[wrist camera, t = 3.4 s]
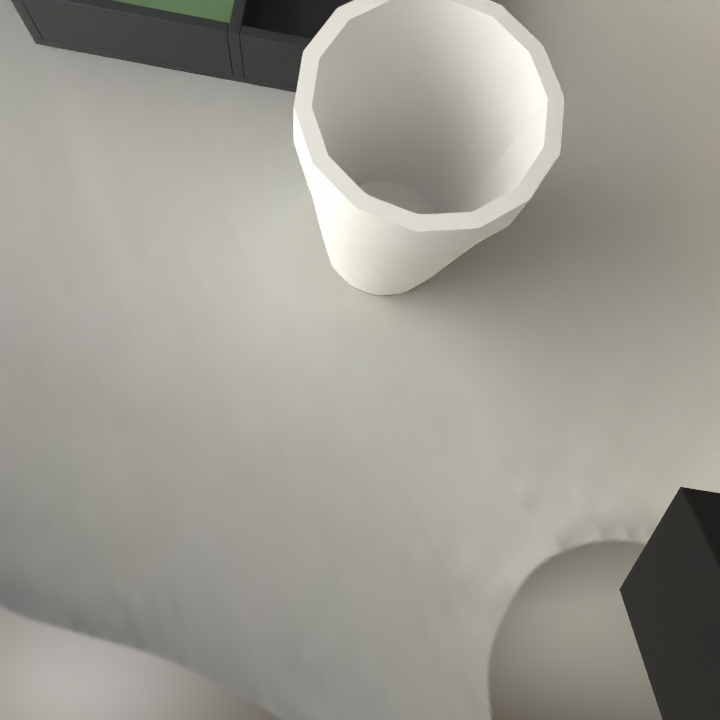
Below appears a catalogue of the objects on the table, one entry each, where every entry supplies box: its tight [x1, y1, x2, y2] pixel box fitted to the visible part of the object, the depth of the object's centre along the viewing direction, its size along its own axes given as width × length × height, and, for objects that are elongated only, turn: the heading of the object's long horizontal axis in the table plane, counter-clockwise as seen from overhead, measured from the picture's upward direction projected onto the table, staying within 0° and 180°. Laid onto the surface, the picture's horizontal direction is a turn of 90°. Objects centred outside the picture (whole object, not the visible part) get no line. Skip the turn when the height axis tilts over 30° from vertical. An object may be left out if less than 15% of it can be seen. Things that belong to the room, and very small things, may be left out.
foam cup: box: [294, 0, 565, 295], centre depth 30 cm, size 10×9×13 cm
